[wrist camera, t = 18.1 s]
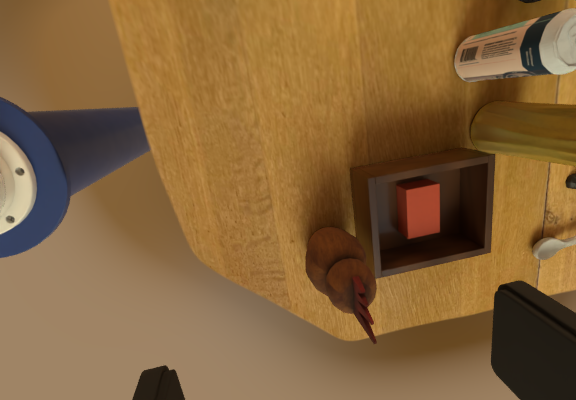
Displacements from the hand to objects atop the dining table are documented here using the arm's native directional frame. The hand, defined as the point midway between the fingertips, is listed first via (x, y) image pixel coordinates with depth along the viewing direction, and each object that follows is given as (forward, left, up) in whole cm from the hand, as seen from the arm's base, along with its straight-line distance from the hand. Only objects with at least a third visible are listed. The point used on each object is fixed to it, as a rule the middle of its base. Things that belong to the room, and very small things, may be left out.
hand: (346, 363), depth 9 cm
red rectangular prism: (+17, -7, -28) cm, 33 cm away
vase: (+28, 0, -28) cm, 40 cm away
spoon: (+40, -17, -28) cm, 52 cm away
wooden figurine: (+6, -11, -28) cm, 31 cm away
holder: (+17, -7, -28) cm, 34 cm away
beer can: (+25, +8, -28) cm, 39 cm away
